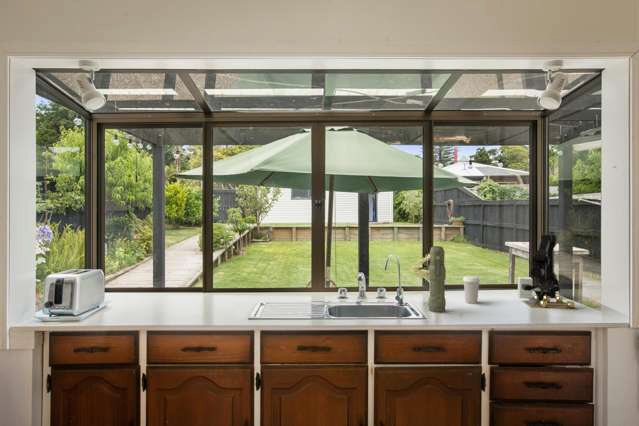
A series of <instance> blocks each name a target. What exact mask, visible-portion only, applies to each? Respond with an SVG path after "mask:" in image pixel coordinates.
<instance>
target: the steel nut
mask: <svg viewBox="0 0 639 426" xmlns="http://www.w3.org/2000/svg"><path fill="white" fill-rule="evenodd" d="M528 301H529V304H530V305H539V300H538V299H535V298H534V297H532V298H529V299H528Z"/></svg>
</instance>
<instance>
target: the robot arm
mask: <svg viewBox="0 0 639 426" xmlns="http://www.w3.org/2000/svg"><path fill="white" fill-rule="evenodd" d="M558 242H559V237H558V235H556V234H551V233H550V234H547V233H544V234H541V235H540V244H539V247H538V250H536V251H535V252H534V254H533V255H532V259H531V264H530V265H531V266H532V267H533V268H531V269H530V275H531V276H532V277H533V278H534V283H533V285H532V286H531V285H530V284H522V289H523V290H528V291H531V290H532V292H534V294H535V295H537V298H538V300H539V302H540V300H543V298H544V296H550V299H556V296H557V292H561V287H560V281H559V278H558V276H557V273H555V248H556V246H557V244H558Z"/></svg>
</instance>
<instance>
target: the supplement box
mask: <svg viewBox="0 0 639 426" xmlns="http://www.w3.org/2000/svg"><path fill="white" fill-rule="evenodd" d="M533 282H534V279H533V278H532V277H530V276H529V277H527V276H518V277H517V297H518V298H520V299H528V300H529V298H533V290H531V291H528V290H523V289H522V284H530V285H531V286H534V283H533Z"/></svg>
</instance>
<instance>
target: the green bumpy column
mask: <svg viewBox="0 0 639 426" xmlns="http://www.w3.org/2000/svg"><path fill="white" fill-rule="evenodd" d="M445 253H446V252H445V249H444V247H443V246H442V245H441V246H439V245H434V246H431V248H430V250H429V262H430V263H429V267H428V279H429V297H428V311H429V312H431V313H446V306H447V305H446V302H447V301H446V298H445V297H446V295H445V294H446V293H445V292H446V291H445V289H446V285H445V282H446V281H445V280H446V276H447V275H446V272H447V271H446V267H445V266H446V265H445Z"/></svg>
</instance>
